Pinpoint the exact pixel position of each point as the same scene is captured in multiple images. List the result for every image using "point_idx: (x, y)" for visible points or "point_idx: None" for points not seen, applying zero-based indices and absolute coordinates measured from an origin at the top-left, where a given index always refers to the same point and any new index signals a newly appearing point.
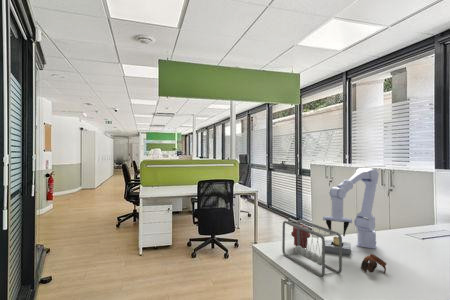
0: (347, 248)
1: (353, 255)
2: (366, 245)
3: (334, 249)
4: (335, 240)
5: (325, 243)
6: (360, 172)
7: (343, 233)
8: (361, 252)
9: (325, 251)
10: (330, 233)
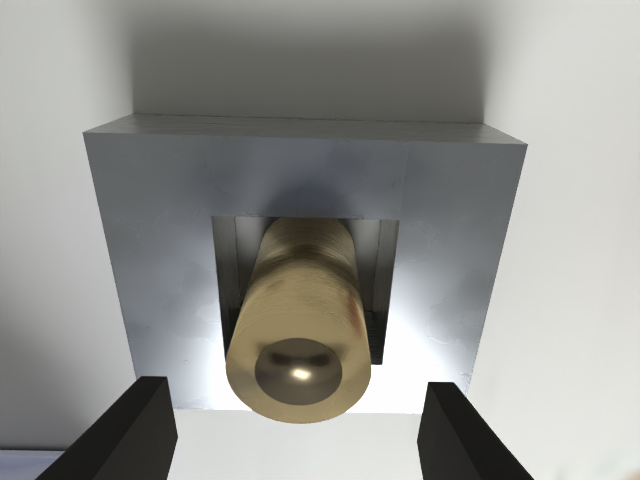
0: (131, 154)
1: None
2: (34, 472)
3: (338, 131)
4: (330, 294)
5: (479, 258)
6: None
7: (130, 421)
8: (48, 306)
9: (458, 126)
10: (452, 397)
